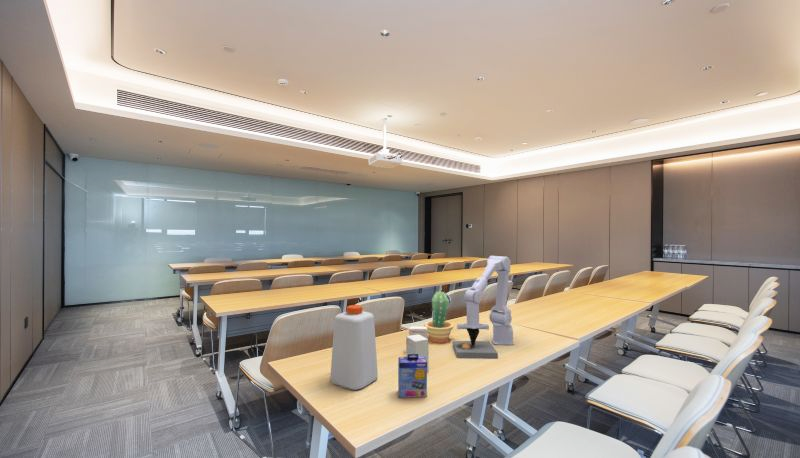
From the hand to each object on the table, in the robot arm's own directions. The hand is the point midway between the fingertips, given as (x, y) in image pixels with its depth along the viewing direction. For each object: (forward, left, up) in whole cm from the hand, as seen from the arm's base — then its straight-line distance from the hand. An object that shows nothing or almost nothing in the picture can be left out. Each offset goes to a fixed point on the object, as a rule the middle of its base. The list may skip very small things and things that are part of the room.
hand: (472, 344), depth 157 cm
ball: (+3, 0, -1) cm, 4 cm away
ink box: (+26, +2, -4) cm, 26 cm away
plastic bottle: (+50, +32, -4) cm, 60 cm away
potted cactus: (+14, -17, -4) cm, 23 cm away
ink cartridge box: (+28, +42, -4) cm, 51 cm away
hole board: (0, 0, -3) cm, 3 cm away
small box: (+26, +21, -4) cm, 34 cm away
